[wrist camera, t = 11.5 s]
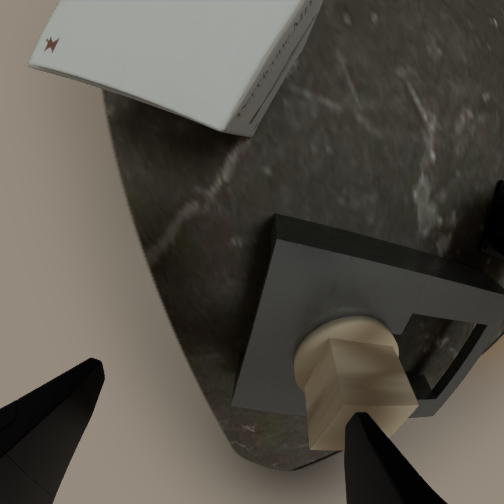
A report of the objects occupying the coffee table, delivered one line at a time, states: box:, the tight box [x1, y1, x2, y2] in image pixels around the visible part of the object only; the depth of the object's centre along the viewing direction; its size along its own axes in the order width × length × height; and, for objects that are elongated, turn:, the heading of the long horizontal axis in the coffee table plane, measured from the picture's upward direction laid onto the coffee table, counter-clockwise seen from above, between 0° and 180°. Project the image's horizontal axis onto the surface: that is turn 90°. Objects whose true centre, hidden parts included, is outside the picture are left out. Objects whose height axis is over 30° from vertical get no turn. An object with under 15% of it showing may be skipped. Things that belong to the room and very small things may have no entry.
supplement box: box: [28, 0, 323, 138], centre depth 10 cm, size 7×7×13 cm
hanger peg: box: [294, 316, 419, 450], centre depth 17 cm, size 7×7×10 cm
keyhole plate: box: [231, 214, 504, 418], centre depth 20 cm, size 20×14×5 cm
